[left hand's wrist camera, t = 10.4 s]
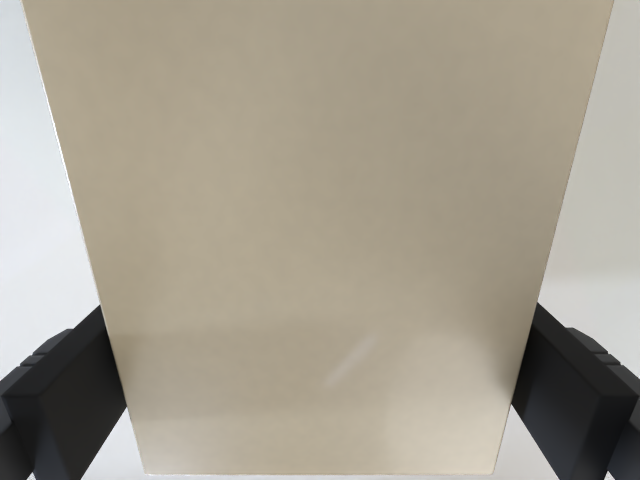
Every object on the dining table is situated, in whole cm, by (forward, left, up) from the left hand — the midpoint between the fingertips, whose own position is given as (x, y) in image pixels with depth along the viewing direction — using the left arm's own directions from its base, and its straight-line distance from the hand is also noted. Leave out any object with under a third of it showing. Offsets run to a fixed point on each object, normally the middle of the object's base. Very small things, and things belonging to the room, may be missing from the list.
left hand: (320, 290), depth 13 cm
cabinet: (+7, -1, -6) cm, 9 cm away
